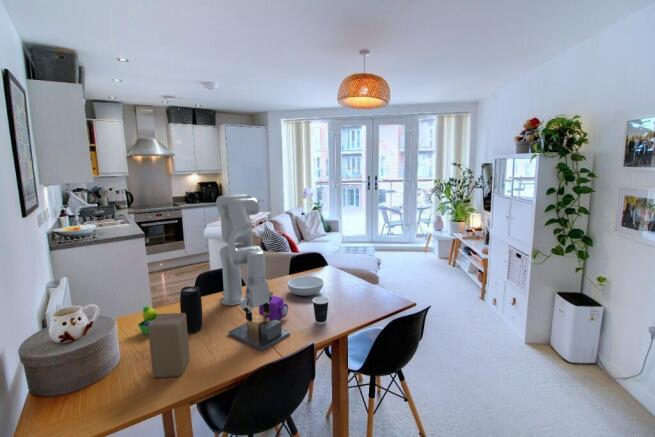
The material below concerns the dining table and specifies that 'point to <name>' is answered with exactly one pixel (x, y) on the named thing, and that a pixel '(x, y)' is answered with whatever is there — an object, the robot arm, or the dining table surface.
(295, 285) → the serving bowl
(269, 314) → the toy camera
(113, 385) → the dining table surface
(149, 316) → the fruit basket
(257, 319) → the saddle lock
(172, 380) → the dining table surface
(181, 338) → the wooden block
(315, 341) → the dining table surface
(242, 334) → the plate
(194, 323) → the portable speaker
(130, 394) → the dining table surface
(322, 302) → the dixie cup
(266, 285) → the robot arm
